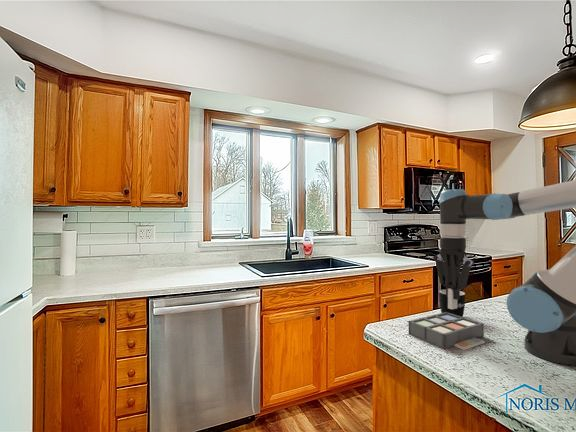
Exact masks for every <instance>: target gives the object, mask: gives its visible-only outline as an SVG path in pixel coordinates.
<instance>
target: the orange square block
mask: <svg viewBox="0 0 576 432" xmlns="http://www.w3.org/2000/svg"><path fill="white" fill-rule="evenodd" d="M446 326H448V327H451V328H454V329H457V330H458V329H462V328H465V327H462V326H459V325H456V324H453V323H450V324H446Z"/></svg>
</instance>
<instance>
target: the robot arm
mask: <svg viewBox="0 0 576 432" xmlns="http://www.w3.org/2000/svg"><path fill="white" fill-rule="evenodd" d="M439 196H440V197H439V203H438V204H439V235H440V237H439V248H440V251H439V254H437V255H433V257H432V258H433V260H434V262H435V265H436V269H437V274H438V280H439V284H440V285H441V286H444V287H445V290H446V297H448V308H449V309H456V308H457V299H459V298H460V291H461V290H462V289H463V290H464V289H466V288H467V284H468V280H469V276H470V273H471V268H472V267H473V265H474V264H475V261H474V260H473V259H470V258H468V257H467V253H466V248H467V239H466V238H465V236H467V233H466V232H467V220H473V219H474V220H491V221H499V220H508V219H509V220H510V219H515V218H519V217H524V216H529V215H535V214H541V213H542V214H543V213H549V212H555V211H561V210H569V209H575V208H576V179H574V180H569V181H564V182H559V183H556V184H555V183H554V184H551V185H546V186H541V187H535V188H532V189H527V190H522V191H519V192H513V193H509V194H508V193H489V194H488V193H486V194H472V195H471V194H467V192H466V190H465V189H457V188H456V189H445V190H442V191H441V192H440V194H439ZM462 264H463V265H462ZM506 306H507V307H506V309H507V311H508V314H509V315H510V316H511V318H512V320H514V322H516V323H517V325H519V326H521V327H522V328H524V329H525V330H527V332H526V334H525V337H524V341H523V342H524V343H523V345H524V349H525V350H526V351H527V352H528V353H530V354H532V355H534V356H536V357H538V358H541V359H542V360H546V361H549V362H553V363H556V364H561V365H565V366H572V367H576V245H575V246H574V247H573V248H571V249H570V250H569V251H568V252H567V253H566V254H565V255H564V256H562V257H561V258H560V259H559V261H557V262H556V263H555V264H554V265H553V266H552V267H551V268H550V269H539V270H537V271H536V272H532V273H531V275H530V277H529V278H528V279H527V280H526V281H525V282H524V283H523V284H521V285H520V286H517V287H514V288H513V289H512V290H511V292H510V293H509V294H508V296H507V298H506Z"/></svg>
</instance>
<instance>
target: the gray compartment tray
mask: <svg viewBox="0 0 576 432" xmlns="http://www.w3.org/2000/svg"><path fill="white" fill-rule="evenodd" d="M445 315H449V316H452V317H455V318H457V319H454V320H449V319H446V318H443V317H441V316H445ZM461 320H465V321H468V322H471V323H474V324H475V325H472V326H467V325H464V324H461V323H458V321H461ZM421 321H427V322H430V323H433V324H434V325H431V326H427V327H426V326H423V325H420V324H418V323H417V322H421ZM450 323H453V324H456V325H459V326H462V327H465V328H462V329H458V330H457V329H454V328H451V327H448V326H446V324H450ZM439 326H441V327H444V328H446V329H449V330H452V331H451V332H448V333H441V332H439V331H436V330H433V329H431V328H435V327H439ZM484 332H485V330H484V323H483V322H479V321H476V320H473V319H470V318H467V317H464V316H463V317H461V316H457V315H454V314H451V313H448V312H444V313H436V314H433V315H428V316H424V317H419V318H415V319H410V320H408V335H411V336H412V337H416V338H418V339H420V340H422V341H425V342H427V343H429V344H431V345H434V346H436V347H438V348H441V349H443V350H447V349H450V348H453V347H456V348H458V349H460V350H463V351H466V350H468V349H472V348H474V347H476V346H479V345H483V344H485V342H486V341H485V340H483V339H482V338H484V336H485V333H484Z"/></svg>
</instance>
